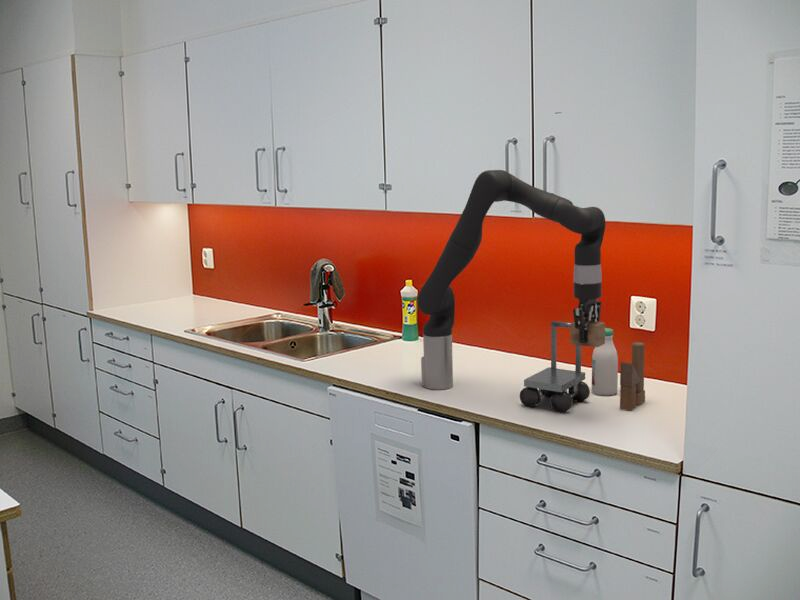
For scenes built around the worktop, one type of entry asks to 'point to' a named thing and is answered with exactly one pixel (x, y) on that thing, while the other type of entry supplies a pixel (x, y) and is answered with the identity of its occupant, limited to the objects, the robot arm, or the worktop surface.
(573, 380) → the trolley
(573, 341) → the block
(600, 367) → the milk bottle
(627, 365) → the wooden block
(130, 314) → the worktop surface
